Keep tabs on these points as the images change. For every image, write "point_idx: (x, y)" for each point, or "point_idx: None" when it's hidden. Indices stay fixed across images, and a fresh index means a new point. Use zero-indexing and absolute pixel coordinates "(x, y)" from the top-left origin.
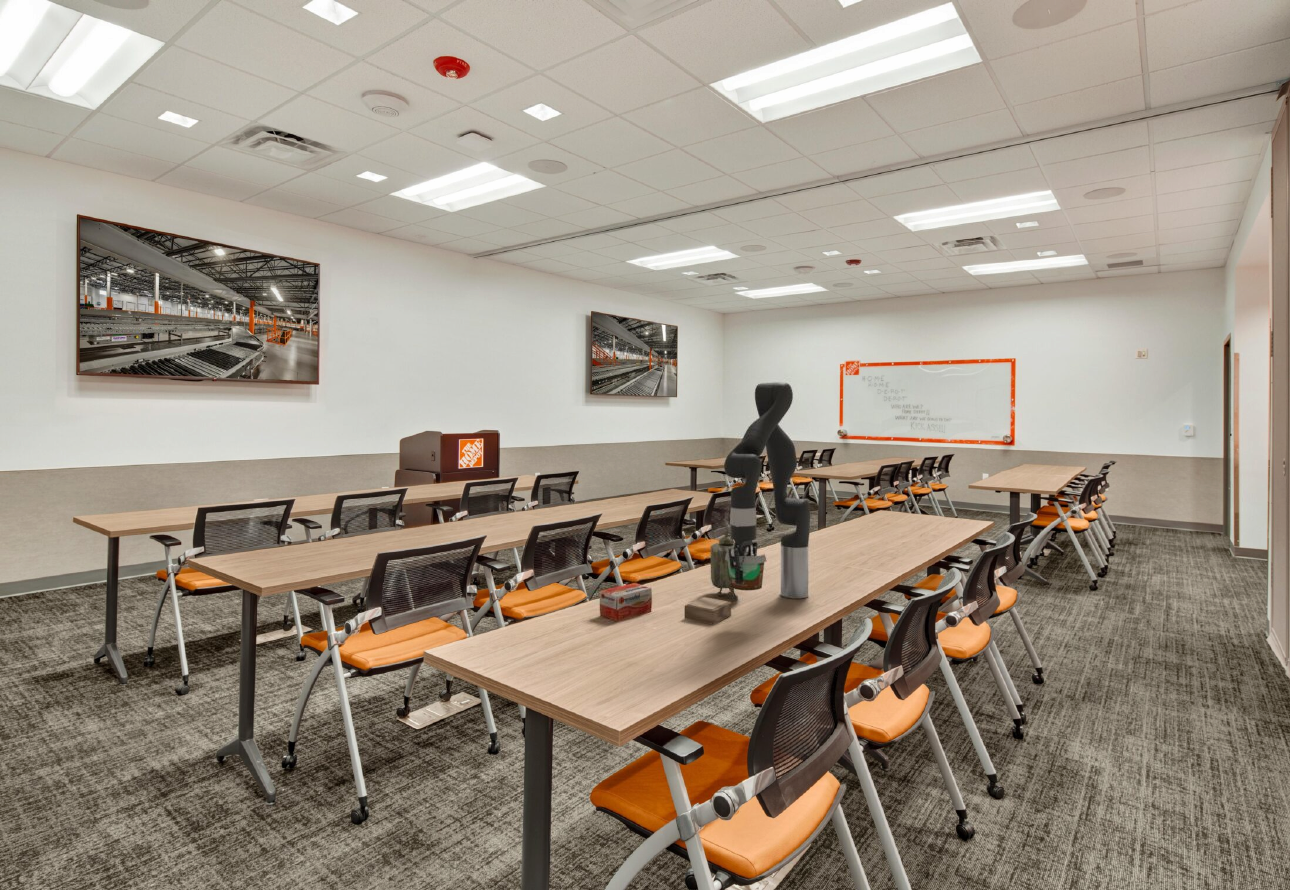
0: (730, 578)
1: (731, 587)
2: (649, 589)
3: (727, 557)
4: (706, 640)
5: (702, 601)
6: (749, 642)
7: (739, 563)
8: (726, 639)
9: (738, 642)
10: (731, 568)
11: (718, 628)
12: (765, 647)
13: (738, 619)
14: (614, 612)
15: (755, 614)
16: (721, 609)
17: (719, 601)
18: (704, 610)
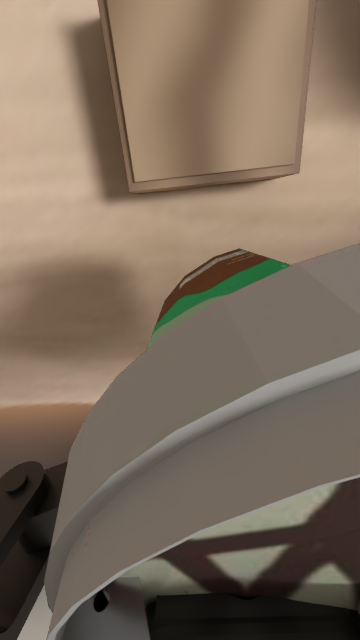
0: (166, 310)
1: (171, 293)
2: None
3: (79, 470)
4: (6, 274)
5: (219, 17)
6: (91, 362)
7: (38, 588)
8: (61, 311)
9: (69, 344)
10: (16, 472)
11: (118, 235)
12: (93, 399)
13: (245, 231)
14: None
15: (330, 246)
16: (203, 184)
17: (272, 117)
18: (121, 136)
